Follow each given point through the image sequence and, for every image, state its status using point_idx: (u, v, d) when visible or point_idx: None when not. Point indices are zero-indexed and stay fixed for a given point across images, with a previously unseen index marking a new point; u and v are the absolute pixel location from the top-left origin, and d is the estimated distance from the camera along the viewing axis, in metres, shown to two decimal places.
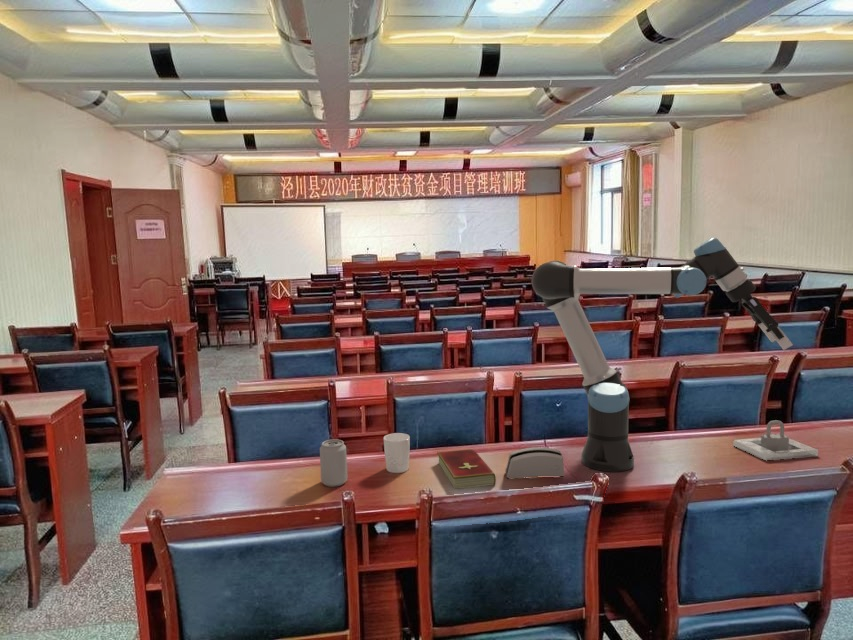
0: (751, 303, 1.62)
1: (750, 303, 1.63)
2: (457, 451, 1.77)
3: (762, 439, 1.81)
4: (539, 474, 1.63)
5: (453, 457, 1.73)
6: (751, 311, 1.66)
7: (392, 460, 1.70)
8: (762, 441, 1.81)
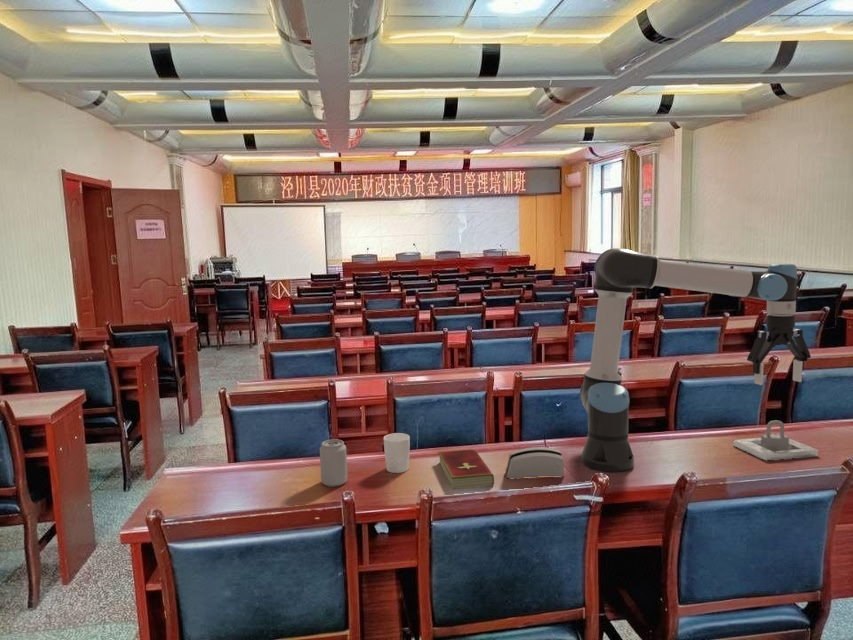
0: (759, 333, 1.75)
1: (758, 333, 1.76)
2: (458, 451, 1.77)
3: (762, 439, 1.81)
4: (539, 474, 1.63)
5: (453, 456, 1.73)
6: (765, 340, 1.77)
7: (392, 460, 1.70)
8: (762, 441, 1.81)
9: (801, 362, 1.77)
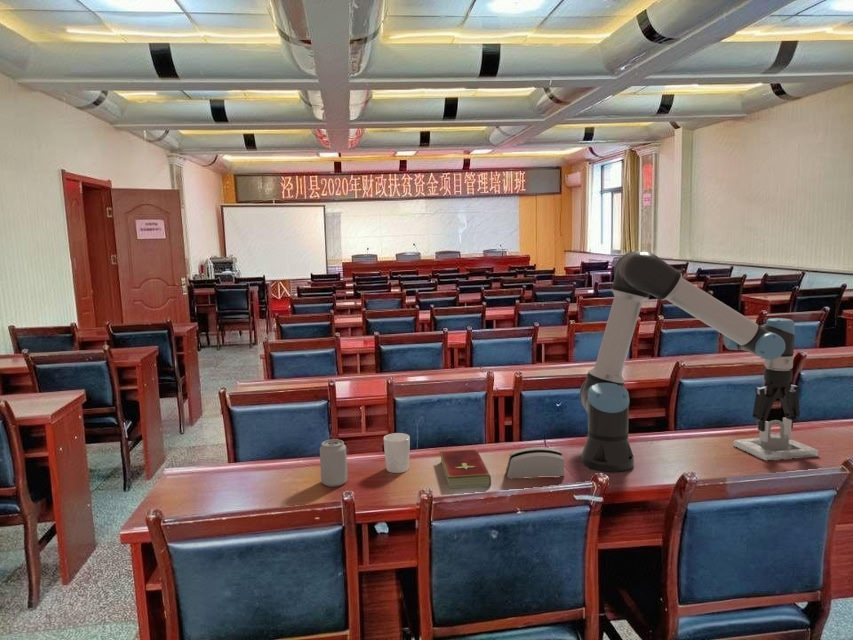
0: (757, 390, 1.78)
1: (756, 390, 1.78)
2: (459, 451, 1.77)
3: None
4: (539, 474, 1.63)
5: (453, 456, 1.73)
6: (765, 395, 1.80)
7: (392, 460, 1.70)
8: (762, 441, 1.81)
9: (790, 421, 1.79)
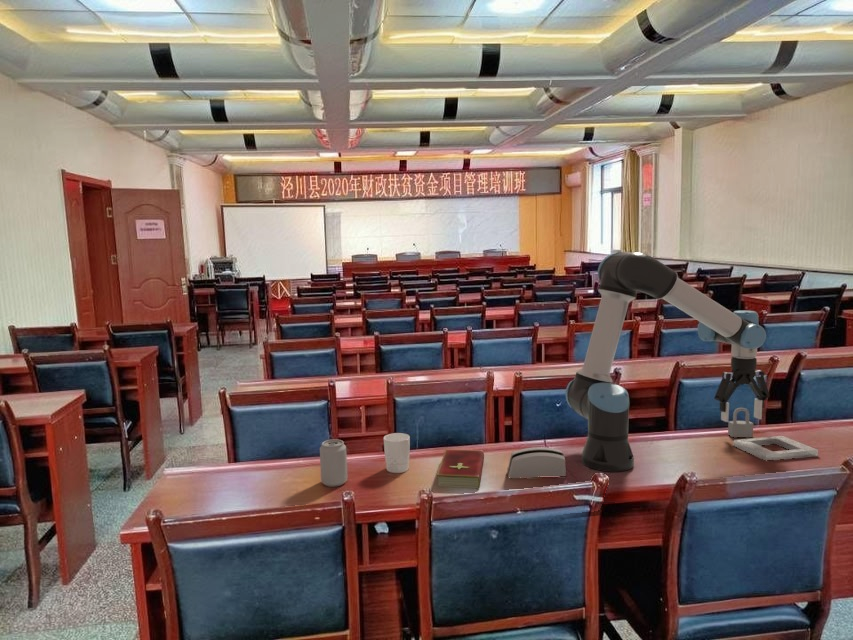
0: (724, 374, 1.92)
1: (723, 374, 1.92)
2: (464, 451, 1.77)
3: (729, 425, 1.96)
4: (541, 474, 1.63)
5: (455, 455, 1.74)
6: (730, 380, 1.94)
7: (392, 460, 1.70)
8: (729, 427, 1.96)
9: (761, 401, 1.94)
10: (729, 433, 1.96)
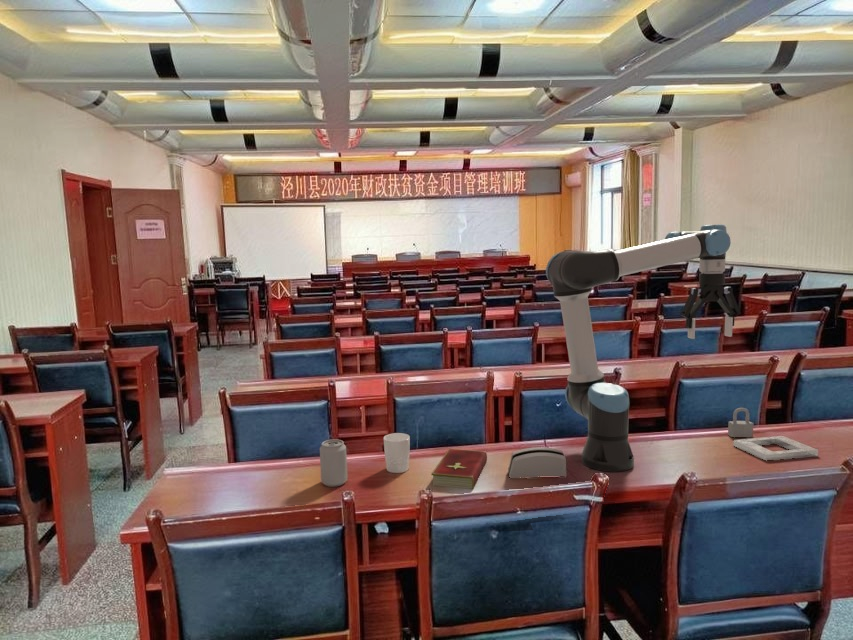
0: (691, 290, 1.87)
1: (691, 290, 1.87)
2: (467, 451, 1.77)
3: (729, 425, 1.96)
4: (541, 474, 1.63)
5: (456, 455, 1.74)
6: (698, 297, 1.88)
7: (392, 460, 1.70)
8: (729, 427, 1.96)
9: (731, 318, 1.88)
10: (729, 433, 1.96)
